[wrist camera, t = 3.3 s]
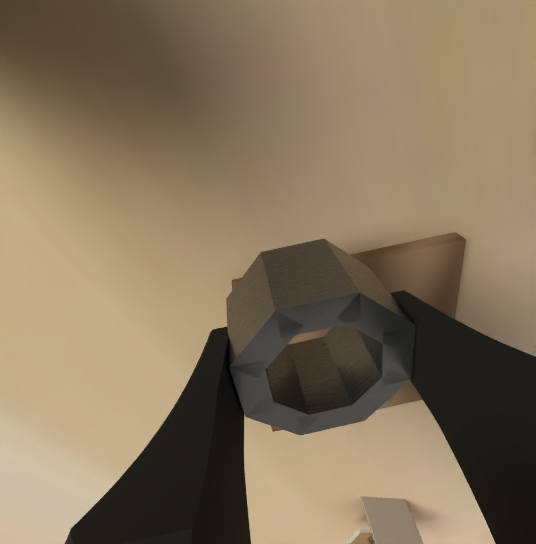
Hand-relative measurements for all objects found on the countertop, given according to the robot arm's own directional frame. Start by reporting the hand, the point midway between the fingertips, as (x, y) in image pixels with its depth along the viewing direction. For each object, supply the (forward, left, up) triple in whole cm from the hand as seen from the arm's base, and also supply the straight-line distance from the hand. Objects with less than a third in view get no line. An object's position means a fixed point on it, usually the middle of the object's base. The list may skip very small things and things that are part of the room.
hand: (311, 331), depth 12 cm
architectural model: (-6, +34, -9) cm, 36 cm away
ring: (0, 0, -2) cm, 2 cm away
